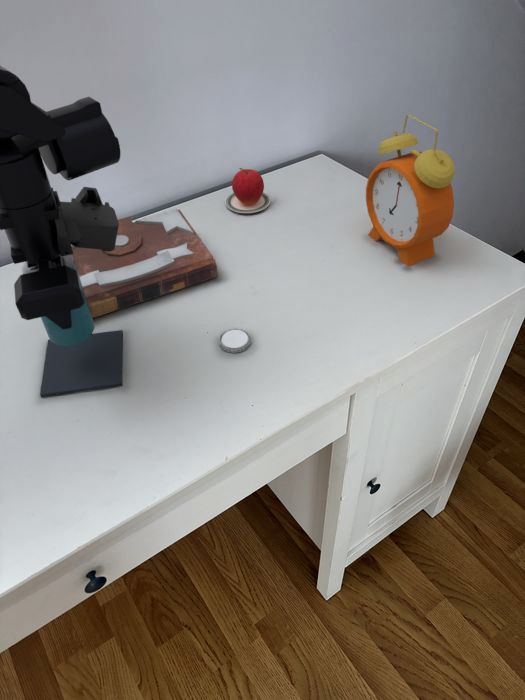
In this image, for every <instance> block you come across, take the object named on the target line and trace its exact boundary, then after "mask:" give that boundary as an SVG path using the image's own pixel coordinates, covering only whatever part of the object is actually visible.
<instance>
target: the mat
mask: <svg viewBox="0 0 525 700" xmlns="http://www.w3.org/2000/svg"><path fill="white" fill-rule="evenodd" d="M45 349H46V350H45V357H44V364H43V370H42V377H41V383H40V384H41V385H40V391H39V396H40V398H42V399H43V398H47V397H55V396H62V395H69V394H76V393H82V392H91V391H97V390H105V389H111V388H112V389H113V388H118V387H123V371H124V370H123V365H124V362H123V359H124V357H123V355H124V354H123V353H124V352H123V351H124V332H123V329H118V330H110V331H102V332H94V333H92V335H91V336H90V337H89V338H88V339H86V340H85V341H83V342H81V343H79V344H76V345H72V346H60V345H57V344H54V343H53V342H52V341H51V340H50V339H49V338H48V339H47V343H46V348H45Z"/></svg>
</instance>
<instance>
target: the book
mask: <svg viewBox="0 0 525 700" xmlns="http://www.w3.org/2000/svg"><path fill="white" fill-rule="evenodd" d="M118 222H119V226H118V232H117V238H116V244H115V249H114V250H113V251H109V252H107V251H102V250H101V249H89V248H79V247H75V246H73V245H71V246H72V249H73V254H71V255H72V257H73V258H74V261H75V265H76V268H77V271H78V274H79V277H80V280H81V283H82V287H83V290H84V293H85V296H86V299H87V302H88V305H89V309H90V312H91V315H92V318H93V319H95V318H97V317H100V316H103V315H106V314H109V313H112V312H115V311H118V310H121V309H125V308H127V307H130V306H133V305H136V304H139V303H142V302H145V301H148V300H151V299H154V298H157V297H160V296H163V295H167V294H170V293H172V292H175V291H179V290H181V289H185V288H187V287H190V286H193V285H196V284H200V283H202V282H205V281H209V280H211V279H214V278H217V277H218V264H217V262H216V259H215V257H214V256H213V254H212V253H211V251H210V250H209V249H208V247H207V246H206V244H205V243H204V242H203V240H202V239H201V238H200V236H199V234H198V233H197V232H196V230H195V229H194V228H193V226H192V225H191V224H190V222H189V220H188V219H187V218H186V217H185V215H184V214H183V212H182V211H181V209H178V208H175V209H171V210H167V211H164V212H160V213H157V214H153V215H149V216H146V217H143V218H140V219H139V218H138V219H136V220H134V221H133V220H132V218H131V217H130V216H126V217H122V218H119V219H118Z"/></svg>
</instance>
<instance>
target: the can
mask: <svg viewBox="0 0 525 700" xmlns="http://www.w3.org/2000/svg"><path fill="white" fill-rule="evenodd" d="M61 258H62V264H63V266H64V265H66V266H68V267H70V268H72V269H74V270H76V271H77V268H76V265H75V261H74V258H73V257H72V255H66V256H61ZM23 263H24V264H23V265H22V269H21V272H22V274H27V273H31V272H36V271H39V266H38V268H37V269H35V270H28V267H27V261H26V262H23ZM50 263H51V268H53V266H52V260H51V261H50ZM37 265H38V264H37ZM77 274H78V271H77ZM78 277H79V274H78ZM79 280H80V277H79ZM80 284H81V288H82V293H83V297H84V302H85V304H84V305H83V306H82V307H80V308H78V309H74V310H71V319H72V327H71V328H68V329H61V328H60V327H59V326H57V325H56V324H55V323H53V322H52V321H51V320H49V319H48V318H47V317H45V316H44V317H40V319H41V322H42V324H43V327H44V329H45V331H46V334H47V337H48V340H49V339H50V340H51V341H52V342H53V343H54V344H57V345H60V346H72V345H76V344H79V343H81V342H83V341H85V340H86V339H88V338H89V337H90V336H91V335H92V334H94V332H95V326H96V325H95V321H94V318H92V315H91V312H90V309H89V305H88V302H87V299H86V296H85V293H84V290H83V287H82V283H81V280H80Z"/></svg>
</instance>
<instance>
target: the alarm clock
mask: <svg viewBox="0 0 525 700" xmlns="http://www.w3.org/2000/svg"><path fill="white" fill-rule="evenodd" d="M408 117H410V118H411V119H413V120H415V121H418V122H419V123H421V124H422V125H425V126H426V127H428V128H430V129H432V130H434V131H435V139H434V143H433V144H434V145H433V148H431V149H427V150H424V151H418V150H416V149H414V148H412V149H411V150H410V152H409V153H406V154H402V150H404V149H407V148H411V147H414V146H416V145H419V141H418V139H417V137H416V136H415V135H414V134H413V133H408V132H407V133H405V132H406V131H405V130H406V127H407V122H408ZM438 135H439V130H438V128H435V127H433V126H431V125H430V124H427V123H426V122H423V121H422V120H420V119H418V118H417V117H415V116H413V115H411V114H407V115H406V116H405V119H404V125H403V129H402V133H398V131H397V130H396V131H393V136H391V137H389V138H386V139H384V140H382V141H381V142H380V144H379V146H378V156H381V155H384V154H389V153H393V152H396V153H397V156H396V157H393V158H390V159H387V160H384V161H381V162H379V164H378V165H376V166H374V168H373V169H372V170H371V172H370V174H369V175H368V179H367V183H366V187H365V202H366V203H365V204H366V209H367V214H368V217H369V219H370V222H371V225H372V228H371V230H370V231H369V233H368V237H369V238H371V239H373V241H375V242H379V241H381V240H383V241H384V242H385V243H386V244H387V245H390V246H391V247H393V248H395V249H397V254H398V260H399V261H400V262H402V263H403V264H404V265H405V266H407V267H411V266H414V265H416V264H418V263H421V262H423V261H425V260H428V259H431V258H433V257H435V256H436V254H435V253H436V252H435V245H434V244H435V243H434V238H438V237H439V236H440V237H441V236H442V235H443V234H444V233H445V232H446V231H447V229H448V228H449V226H450V225H451V222H452V219H453V216H454V207H455V197H454V192H453V191H454V190H453V186H452V184H451V182H452V181H453V179H454V177H455V174H456V167H455V163H454V161H453V159H452V157H450V155H449V154H448V153H447V152H445V151H443V150H440V149H437V144H438V143H437V142H438Z"/></svg>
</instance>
